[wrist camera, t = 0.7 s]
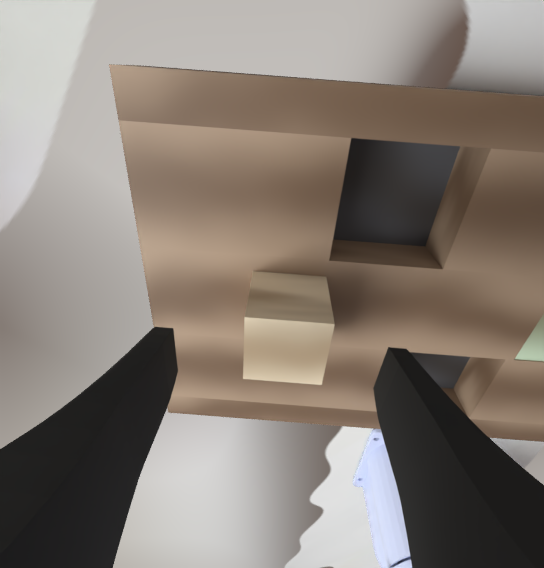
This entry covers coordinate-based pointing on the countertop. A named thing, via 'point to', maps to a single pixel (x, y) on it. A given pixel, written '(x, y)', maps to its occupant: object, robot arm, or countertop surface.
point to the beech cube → (287, 328)
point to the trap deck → (343, 235)
